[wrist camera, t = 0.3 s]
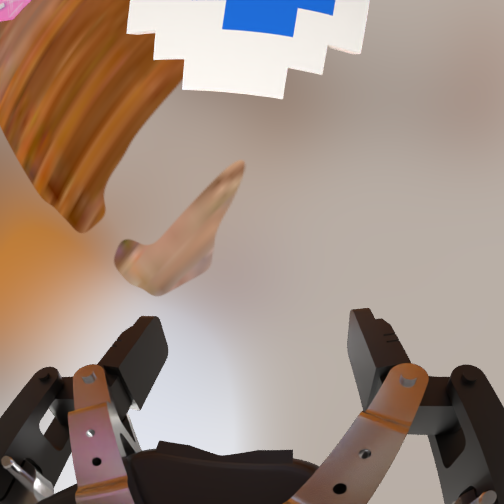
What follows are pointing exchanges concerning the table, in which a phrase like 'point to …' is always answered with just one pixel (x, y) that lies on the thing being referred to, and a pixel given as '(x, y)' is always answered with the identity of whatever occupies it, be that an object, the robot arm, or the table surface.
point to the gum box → (11, 8)
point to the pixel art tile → (248, 38)
